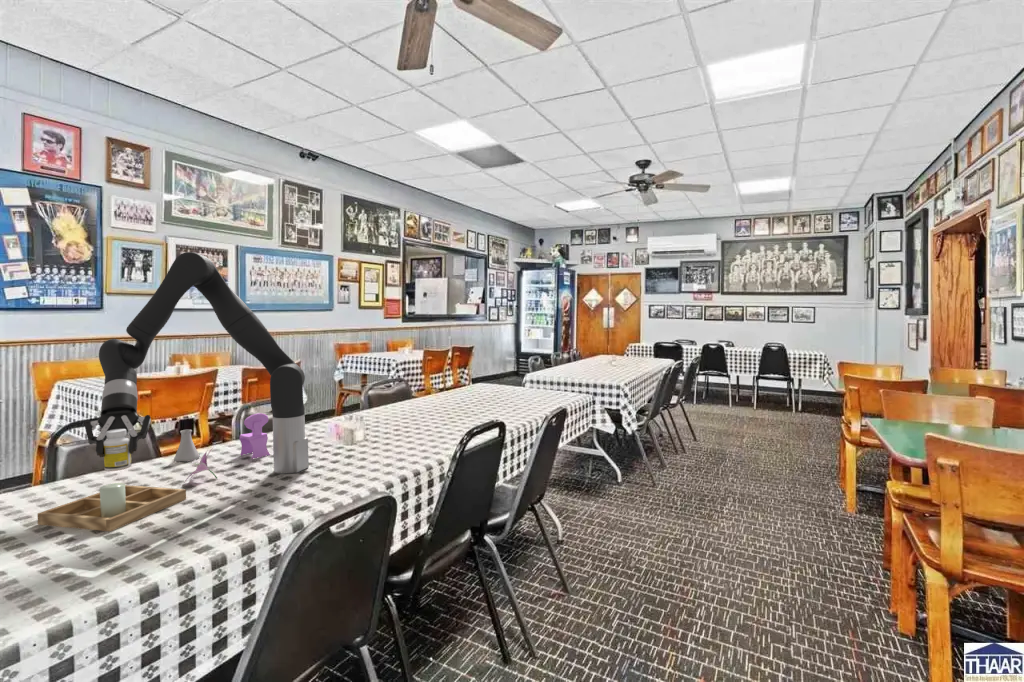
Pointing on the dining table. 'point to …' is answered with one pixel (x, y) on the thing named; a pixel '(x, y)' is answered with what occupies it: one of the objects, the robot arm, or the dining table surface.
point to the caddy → (89, 516)
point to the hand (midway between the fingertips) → (116, 453)
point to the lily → (202, 465)
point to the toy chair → (255, 436)
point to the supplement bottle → (117, 450)
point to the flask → (186, 448)
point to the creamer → (112, 499)
